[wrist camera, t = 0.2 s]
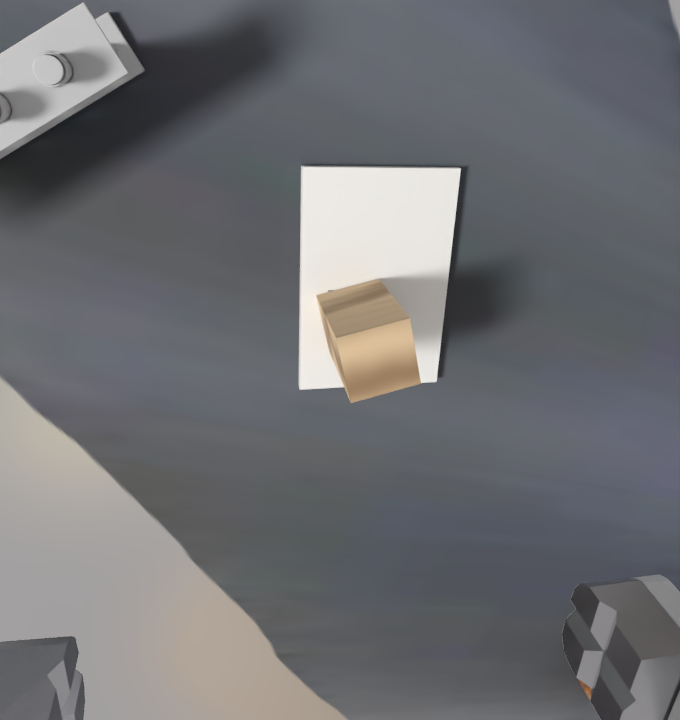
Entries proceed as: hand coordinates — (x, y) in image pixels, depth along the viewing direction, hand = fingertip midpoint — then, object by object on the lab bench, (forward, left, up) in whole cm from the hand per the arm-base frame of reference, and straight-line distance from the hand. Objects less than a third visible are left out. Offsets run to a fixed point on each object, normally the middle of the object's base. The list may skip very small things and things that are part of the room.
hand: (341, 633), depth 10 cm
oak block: (+13, +11, -47) cm, 50 cm away
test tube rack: (-3, -18, -48) cm, 52 cm away
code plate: (+10, +13, -48) cm, 50 cm away
